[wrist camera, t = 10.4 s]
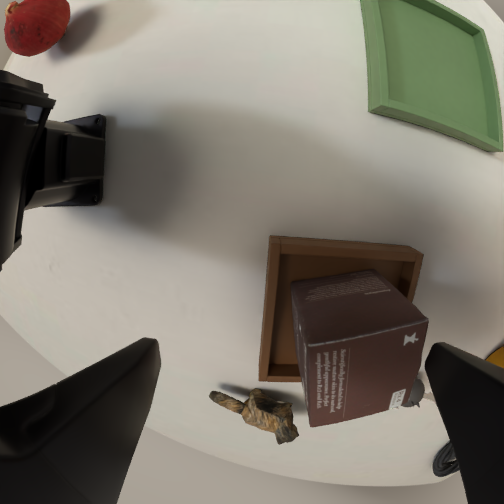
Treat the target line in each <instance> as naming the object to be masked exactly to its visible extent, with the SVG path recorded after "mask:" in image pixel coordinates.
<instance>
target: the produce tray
mask: <svg viewBox="0 0 504 504" xmlns="http://www.w3.org/2000/svg"><path fill="white" fill-rule="evenodd" d="M360 3H361V9H362V17H363V25H364V34H365V44H366V57H367V74H368V112H371V113H376V114H380V115H384V116H388V117H392V118H396V119H399V120H403V121H406V122H410V123H413V124H416V125H420V126H423V127H426V128H429V129H432V130H435V131H438V132H441V133H443V134H446V135H449V136H452V137H454V138H457V139H459V140H462V141H464V142H467V143H469V144H471V145H474V146H476V147H478V148H481V149H483V150H485V151H487V152H503V130H502V117H501V108H500V100H499V93H498V86H497V81H496V75H495V71H494V66H493V61H492V57H491V53H490V50H489V46H488V42H487V39H486V36H485V32H484V30H483V29H482V28H480V27H479V26H478V25H476V24H475V23H473V22H471V21H470V20H468V19H467V18H465V17H463V16H462V15H460V14H458V13H457V12H455V11H453V10H452V9H450V8H448V7H446V6H444V5H442V4H440V3H439V2H437V1H435V0H360Z"/></svg>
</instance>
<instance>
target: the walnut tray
mask: <svg viewBox="0 0 504 504" xmlns="http://www.w3.org/2000/svg"><path fill="white" fill-rule="evenodd" d="M423 255H424V254H422V253H421V252H419V251H417V250H415V249H413V248H412V247H410V246H402V245H391V244H379V243H367V242H354V241H342V240H328V239H315V238H301V237H286V236H271V235H270V236H269V248H268V262H267V274H266V287H265V299H264V311H263V323H262V334H261V345H260V356H259V381H265V382H266V381H267V382H302V381H301V376H300V372H299V366H298V361H297V356H296V352H295V351H296V349H295V339H294V327H293V318H292V301H291V288H290V283H291V282H292V281H299V280H306V279H312V278H319V277H325V276H332V275H338V274H345V273H350V272H356V271H362V270H369V269H375V270H376V271H377V272H379V273H380V274H381V275H382V276H383V277H384V278H385V279H386V280H387V281H389V282H390V283H391V284H392V285H393V286H394V287H395V288H396V289H397V290H398V291H399V292H400V293H402V294H403V296H405V297H406V298H407V299H408V300H409V301H410V302H411V303H412V301H413V298H414V294H415V290H416V286H417V282H418V278H419V274H420V269H421V265H422V260H423Z"/></svg>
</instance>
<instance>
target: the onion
mask: <svg viewBox="0 0 504 504" xmlns="http://www.w3.org/2000/svg"><path fill="white" fill-rule="evenodd" d="M5 15H6V23H5V28H4V31H5V40H6V43H7V46H8V47H9V49H10V50H11V51H13V52H14V53H16V54H19V55H22V56H29V57H30V56H33V55H37V54H40V53H42V52H45V51H46V50H48V49H49V48H50V47H52V46H53V45H54V44H55V43H57V42H58V41H59V39H61V38H62V37H63V35H64V34H65V30H66V28H67V25H68V23H69V19H70V6H69V3H68V2H67V1H66V0H24V1H23V2H21V3H20V4H18V3H17V2H16V1H14V2H12V3H10V4H9V5H8V6H7V8H6V10H5Z"/></svg>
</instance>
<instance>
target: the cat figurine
mask: <svg viewBox="0 0 504 504" xmlns="http://www.w3.org/2000/svg"><path fill="white" fill-rule="evenodd" d="M260 392H261V390H259V389H256V388H255V389H254V390H253V391H251V392H250V394H249V397H250V399H248V400H246V401H245V402H244V403H243V402H241V401H239V400H236V399H234V398H233V397H230V396H228V395H226V394H223V393H221V392H217V391H212V392H211V393H210V395H209V397H210V399H211V400H213V401H214V402H215V403H217V404H219V405H221V406H223V407H225V408H227V409H229V410H231V411H233V412H236V413H239V414H241V415H242V417H243V419H244V421H245V422H246V423H247V424H250V425H253V426H255V427H257V428H259V429H261V430H265V431H269V432H273V433H275V435H276V439H277V442H278V444H279V445H280V444H282V443H284V442H287V443H288V442H292V441H293V440H294V439H295V438H296V437H298V436H299V434H298V431H297V427H296V426H295V425H294V424H293V413H292V409H291V406H292V403H289V402H285V403H284V402H282V401H274V400H273V399H272V398H271V397H269V396H267V395H264V394H262V393H260Z"/></svg>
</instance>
